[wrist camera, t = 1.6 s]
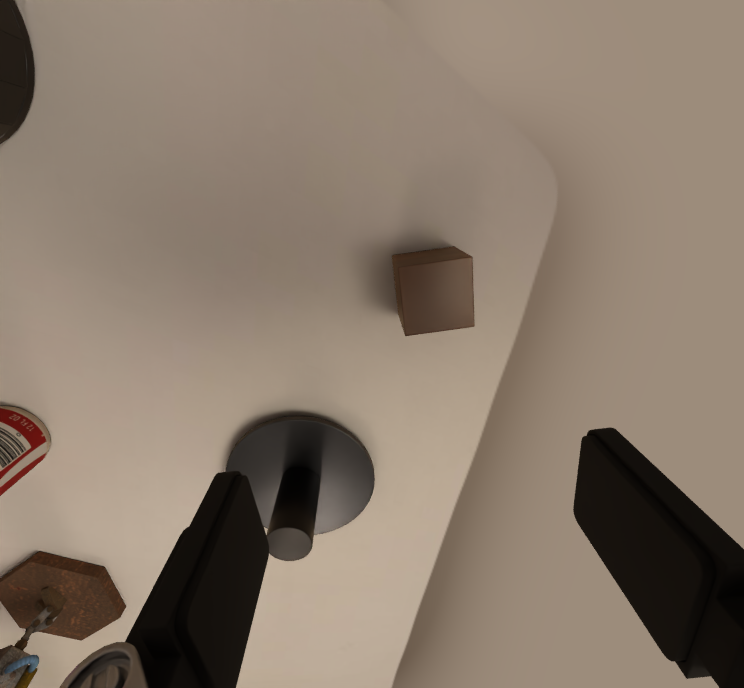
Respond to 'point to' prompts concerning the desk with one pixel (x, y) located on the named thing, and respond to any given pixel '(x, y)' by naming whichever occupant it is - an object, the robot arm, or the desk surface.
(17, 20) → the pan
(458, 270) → the block
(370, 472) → the pan lid
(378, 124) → the desk surface
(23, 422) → the soda can
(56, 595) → the robot figurine
